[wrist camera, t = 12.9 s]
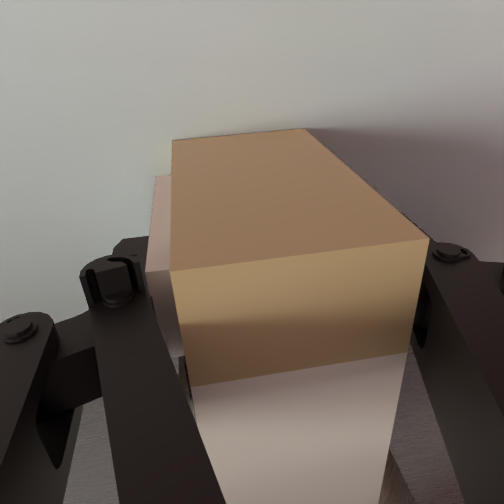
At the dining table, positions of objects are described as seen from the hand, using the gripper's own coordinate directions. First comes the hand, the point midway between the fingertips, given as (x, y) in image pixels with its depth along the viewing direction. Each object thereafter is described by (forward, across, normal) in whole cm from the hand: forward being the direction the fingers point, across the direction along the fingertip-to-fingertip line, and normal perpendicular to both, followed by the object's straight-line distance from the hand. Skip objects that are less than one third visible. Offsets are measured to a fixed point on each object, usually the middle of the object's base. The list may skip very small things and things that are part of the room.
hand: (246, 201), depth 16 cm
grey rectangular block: (+1, 0, -9) cm, 9 cm away
